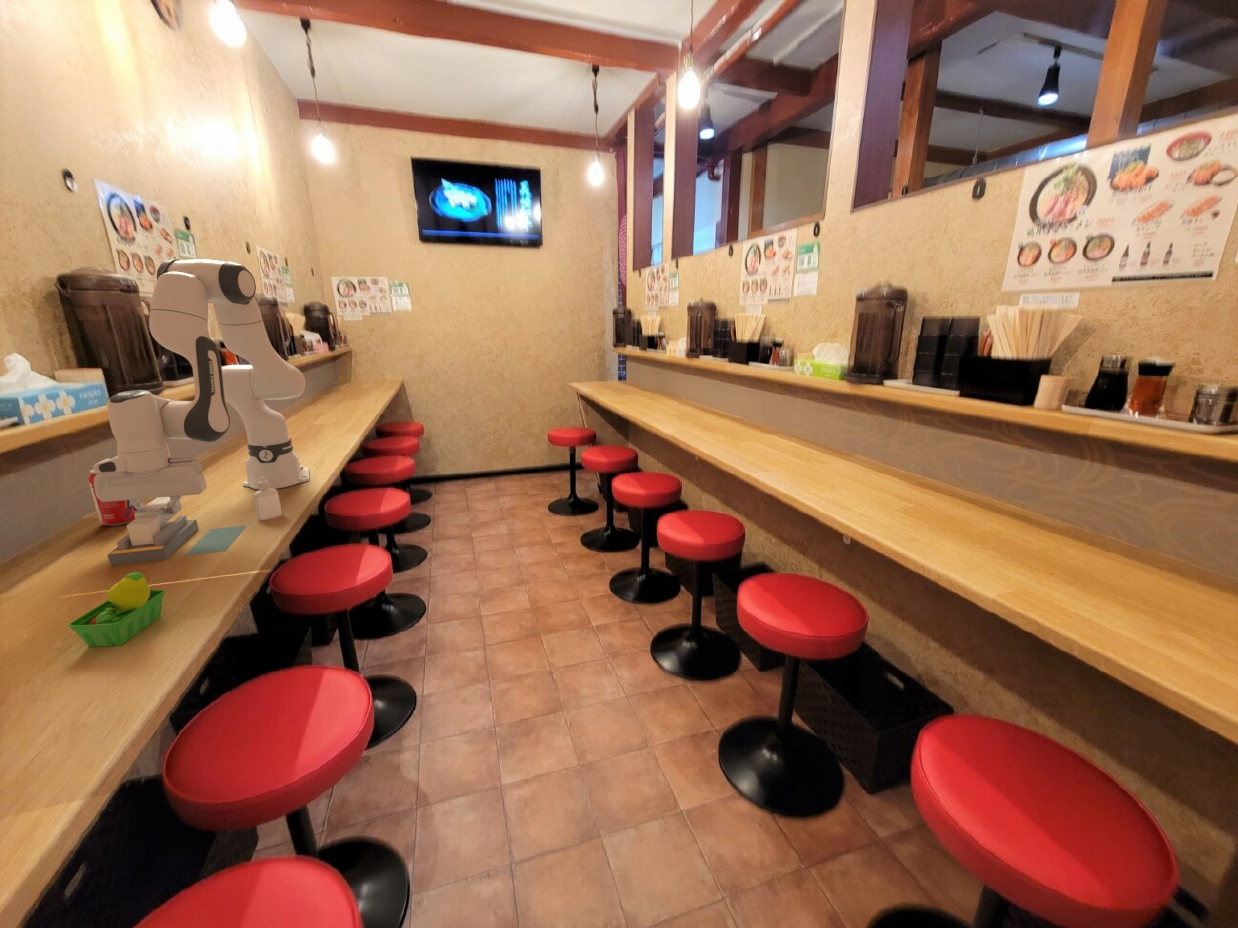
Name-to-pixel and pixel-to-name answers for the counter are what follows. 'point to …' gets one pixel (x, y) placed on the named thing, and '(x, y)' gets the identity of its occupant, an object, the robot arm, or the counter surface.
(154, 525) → the switch tab
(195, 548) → the mat
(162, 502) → the bar
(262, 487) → the eye dropper bottle
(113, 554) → the switch panel
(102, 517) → the soda can
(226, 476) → the counter surface
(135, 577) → the fruit basket
